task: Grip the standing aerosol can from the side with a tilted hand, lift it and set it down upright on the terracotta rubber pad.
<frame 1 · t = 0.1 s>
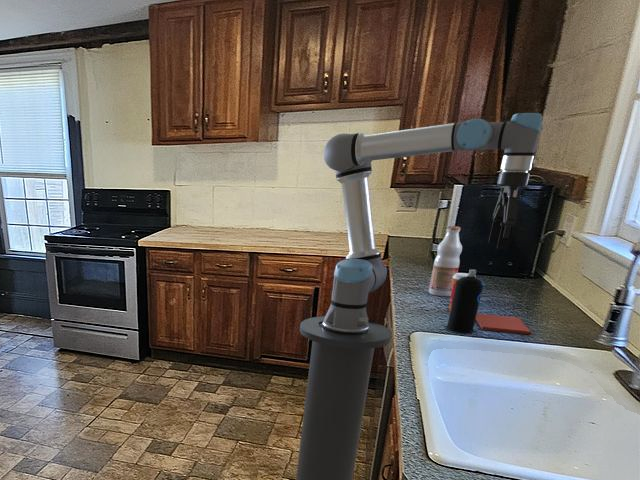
hand: (497, 245, 161), 29 cm above the worktop, tool pointing down, fingers open, 13 cm apart
aerosol can: (459, 330, 177), on the worktop
pad: (500, 324, 182), on the worktop
fruit juice: (440, 294, 224), on the worktop
paper cup: (456, 312, 198), on the worktop
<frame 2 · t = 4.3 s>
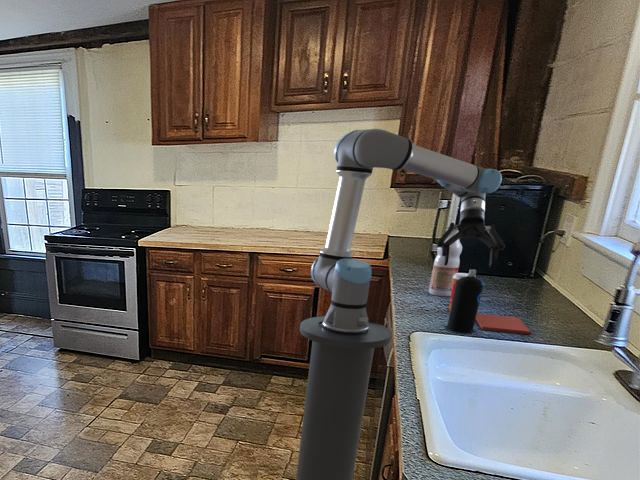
hand: (468, 264, 178), 20 cm above the worktop, tool tilted 45°, fingers open, 13 cm apart
nothing on the worktop moved.
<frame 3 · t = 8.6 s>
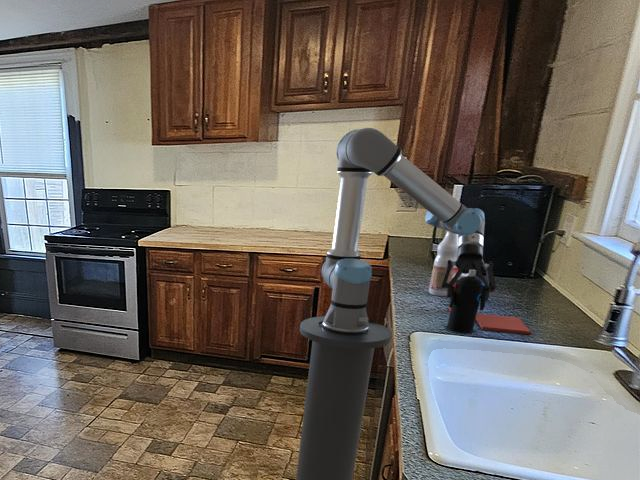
hand: (466, 306, 171), 9 cm above the worktop, tool tilted 45°, fingers closed on aerosol can, 8 cm apart
aerosol can: (459, 330, 177), on the worktop, touching gripper
everything else where it was.
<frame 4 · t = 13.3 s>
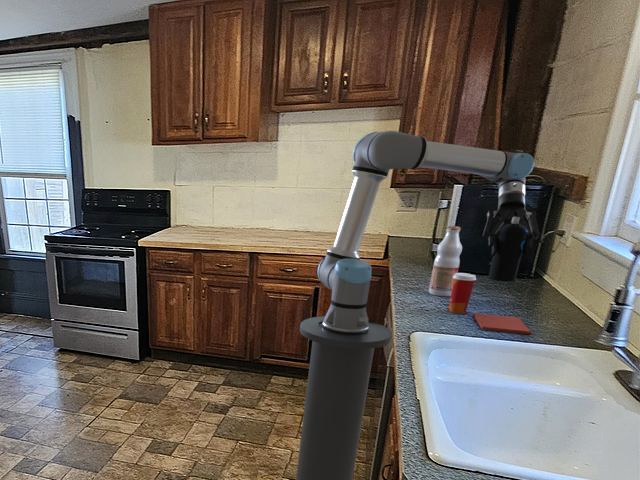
hand: (510, 254, 169), 25 cm above the worktop, tool tilted 45°, fingers closed on aerosol can, 8 cm apart
aerosol can: (501, 279, 175), point 16 cm above the worktop, touching gripper
everything else where it was.
when the fingers open (10 cm above the worktop, at t = 18.4 s): aerosol can stays where it is, resting on pad.
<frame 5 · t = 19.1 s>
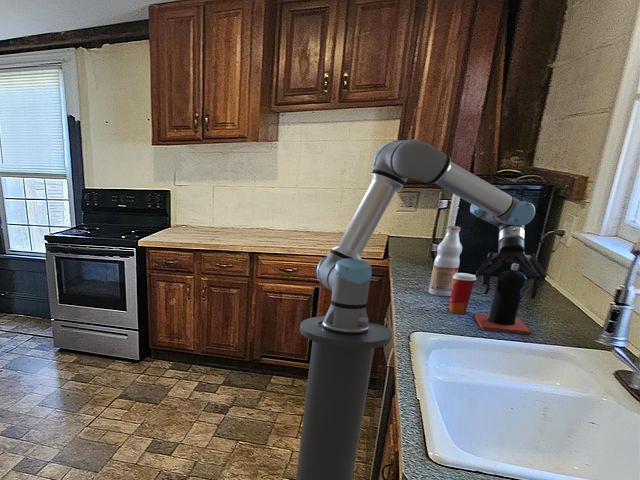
hand: (509, 294, 176), 11 cm above the worktop, tool tilted 45°, fingers open, 13 cm apart
aerosol can: (501, 322, 182), point 1 cm above the worktop, touching pad
everything else where it was.
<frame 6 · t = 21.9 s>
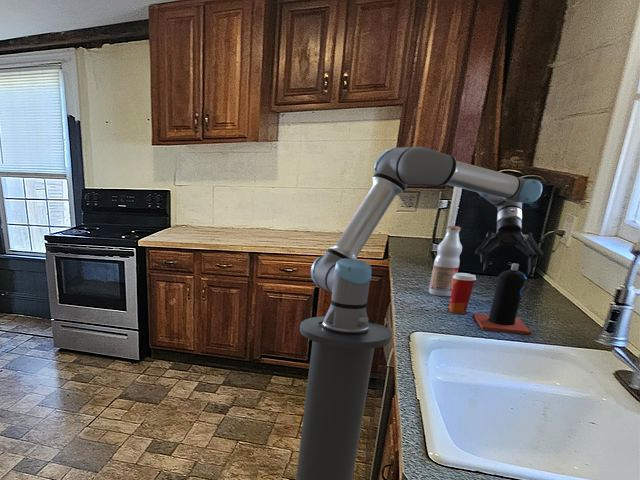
hand: (507, 271, 183), 17 cm above the worktop, tool tilted 45°, fingers open, 13 cm apart
nothing on the worktop moved.
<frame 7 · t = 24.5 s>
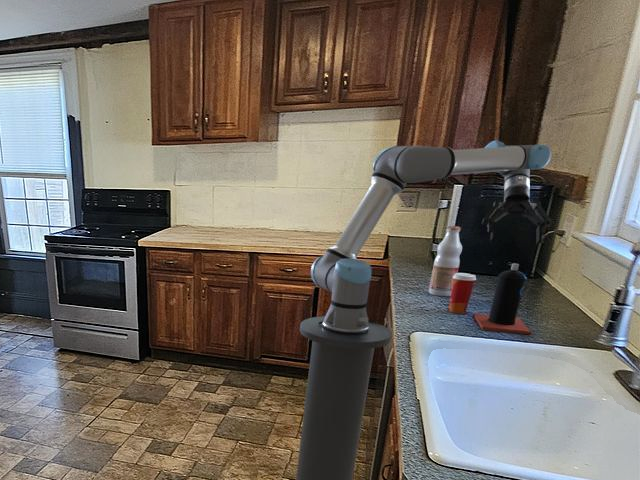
hand: (515, 240, 179), 28 cm above the worktop, tool tilted 45°, fingers open, 13 cm apart
nothing on the worktop moved.
at the end: aerosol can inside the target area (0.0 cm from its centre), point 0.8 cm above the worktop; aerosol can tilted 0°; the gripper is holding nothing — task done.
